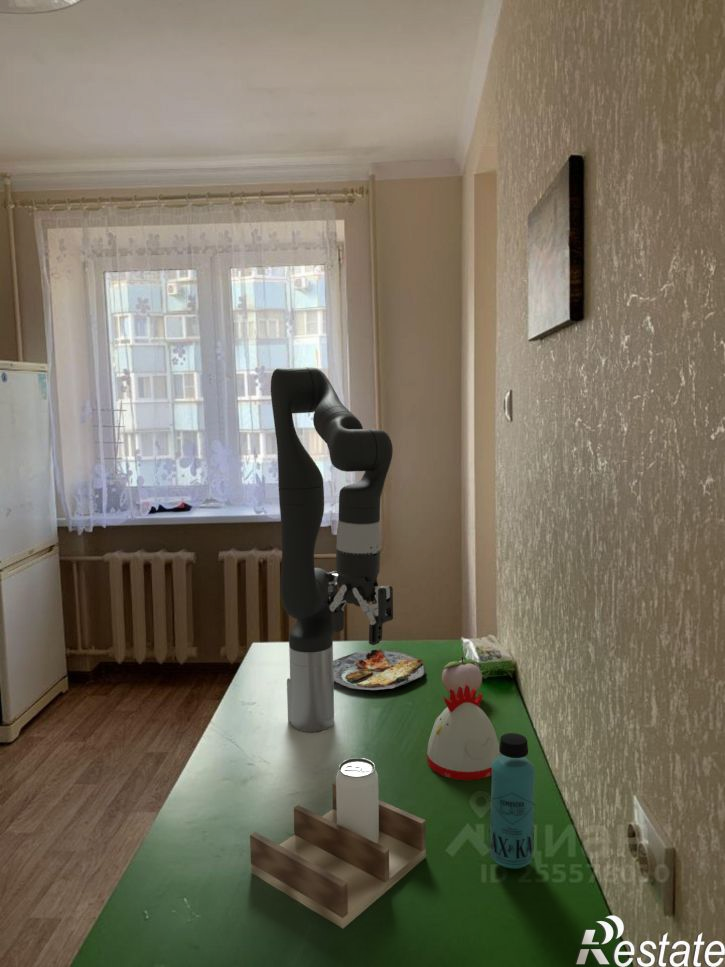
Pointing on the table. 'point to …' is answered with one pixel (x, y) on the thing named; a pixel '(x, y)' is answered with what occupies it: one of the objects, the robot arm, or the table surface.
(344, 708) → the table surface
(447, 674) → the decorative fruit
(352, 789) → the can
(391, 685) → the food plate
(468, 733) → the kitchen timer
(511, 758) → the beverage bottle
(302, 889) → the rack
